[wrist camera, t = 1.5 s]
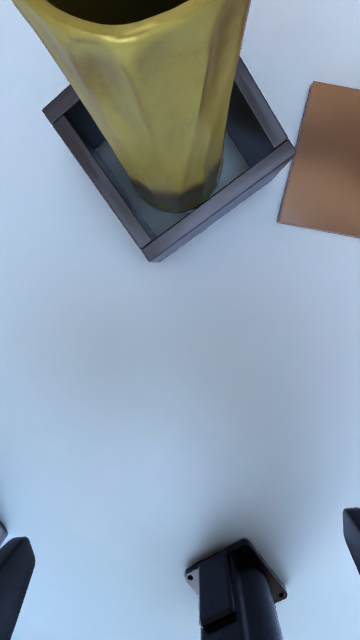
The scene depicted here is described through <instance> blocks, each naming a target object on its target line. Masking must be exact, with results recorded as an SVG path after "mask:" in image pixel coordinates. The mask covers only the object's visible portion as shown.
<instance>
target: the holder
mask: <svg viewBox="0 0 360 640" xmlns="http://www.w3.org/2000/svg"><path fill="white" fill-rule="evenodd" d="M42 111H43V113H44V114H45V116H46V117H47V119H48V120H49V121H50V123H51V124H52V125H53V127H54V128H55V130H56V131H57V133H58V134H59V136H60V137H61V138H62V140H63V141H64V143H65V144H66V145H67V147H68V148H69V150H70V151H71V152H72V154H73V155H74V157H75V158H76V159H77V161H78V162H79V164H80V165H81V166H82V168H83V169H84V171H85V172H86V174H87V175H88V176H89V178H90V179H91V181H92V182H93V183H94V185H95V186H96V188H97V189H98V190H99V192H100V193H101V195H102V196H103V197H104V199H105V200H106V202H107V203H108V204H109V206H110V207H111V209H112V210H113V212H114V213H115V214H116V216H117V217H118V219H119V220H120V221H121V223H122V224H123V226H124V227H125V228H126V230H127V231H128V233H129V234H130V235H131V237H132V238H133V240H134V241H135V243H136V244H137V245H138V247H139V248H140V249H141V251H142V252H143V254H144V255H145V257H146V258H147V259H148V261H149V262H161V261H162V260H163V259H165V258H166V257H168V256H169V255H170V254H172V253H173V252H174V251H176V250H177V249H178V248H180V247H181V246H183V245H184V244H185V243H187V242H188V241H189V240H191V239H192V238H193V237H195V236H196V235H197V234H199V233H200V232H202V231H203V230H204V229H206V228H207V227H208V226H210V225H211V224H212V223H214V222H215V221H217V220H218V219H219V218H221V217H222V216H223V215H225V214H226V213H227V212H229V211H230V210H232V209H233V208H234V207H236V206H237V205H238V204H240V203H241V202H242V201H244V200H245V199H247V198H248V197H249V196H251V195H252V194H253V193H255V192H256V191H257V190H259V189H260V188H262V187H263V186H264V185H266V184H267V183H268V182H270V181H271V180H272V179H273V178H274V177H275V176H276V175H277V174H278V173H279V172H280V171H281V170H282V169H283V168H284V166H285V165H286V164H287V163H288V162H289V161H290V160H291V159H292V158H293V157H294V156H295V155H296V151H295V149H294V147H293V145H292V144H291V142H290V140H289V139H288V137H287V135H286V134H285V132H284V130H283V128H282V127H281V125H280V123H279V122H278V120H277V118H276V117H275V115H274V113H273V112H272V110H271V108H270V106H269V105H268V103H267V101H266V100H265V98H264V96H263V95H262V93H261V91H260V89H259V88H258V86H257V84H256V83H255V81H254V79H253V78H252V76H251V74H250V73H249V71H248V69H247V67H246V66H245V64H244V62H243V61H242V59H241V57H240V56H239V59H238V63H237V68H236V73H235V77H234V82H233V86H232V91H231V96H230V102H229V108H228V114H227V120H226V127H225V128H226V130H227V131H228V133H229V134H230V136H231V138H232V139H233V141H234V142H235V144H236V146H237V147H238V149H239V151H240V152H241V154H242V155H243V157H244V159H245V160H246V162H247V163H248V165H249V167H250V168H249V169H248V170H246V171H245V172H244V173H242V174H241V175H240V176H238V177H237V178H236V179H234V180H233V181H232V182H230V183H229V184H228V185H226V186H225V187H224V188H222V189H221V190H220V191H218V192H217V193H216V194H214V195H213V196H212V197H210V198H209V199H208V200H206V201H205V202H204V203H202V204H201V205H200V206H198V207H197V208H196V209H194V210H193V211H192V212H190V213H189V214H188V215H186V216H185V217H184V218H182V219H181V220H180V221H178V222H177V223H176V224H175V225H173V226H172V227H171V228H169V229H168V230H167V231H165V232H164V233H163V234H161V235H160V236H159V237H157V238H156V236H155V235H154V233H153V232H152V231H151V229H150V228H149V226H148V225H147V223H146V222H145V220H144V219H143V218H142V216H141V215H140V213H139V212H138V210H137V209H136V208H135V206H134V205H133V203H132V202H131V200H130V199H129V198H128V196H127V195H126V193H125V192H124V190H123V189H122V187H121V186H120V185H119V183H118V182H117V180H116V179H115V177H114V176H113V175H112V173H111V172H110V170H109V169H108V167H107V166H106V165H105V163H104V162H103V160H102V159H101V157H100V156H99V154H98V153H97V152H96V150H95V148H97V147H98V146H99V145H100V144H101V143H102V142H104V141H105V140H106V139H105V137H104V136H103V134H102V133H101V131H100V129H99V128H98V126H97V124H96V123H95V121H94V120H93V118H92V116H91V115H90V113H89V112H88V110H87V109H86V107H85V106H84V104H83V103H82V101H81V100H80V98H79V97H78V95H77V94H76V92H75V90H74V89H73V87H72V86H71V84H70V85H69V86H68V87H67V88H66V89H64V90H63V91H62V92H61V93H60V94H59V95H58V96H57V97H56V98H55V99H53V100H52V101H51V102H50V103H49V104H48V105H47V106H46V107H45V108H44V109H43V110H42ZM287 139H288V140H287Z"/></svg>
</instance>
